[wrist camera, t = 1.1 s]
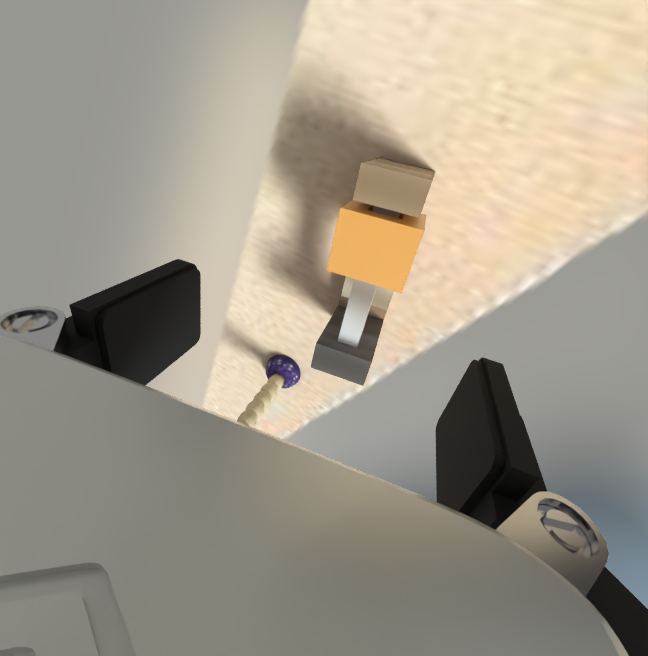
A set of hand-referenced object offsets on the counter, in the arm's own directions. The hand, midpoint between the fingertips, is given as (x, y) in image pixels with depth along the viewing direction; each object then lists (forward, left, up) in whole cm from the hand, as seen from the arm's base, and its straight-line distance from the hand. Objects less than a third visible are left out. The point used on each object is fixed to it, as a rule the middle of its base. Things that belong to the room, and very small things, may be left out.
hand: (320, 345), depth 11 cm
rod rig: (+3, 0, -20) cm, 20 cm away
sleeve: (0, 0, -16) cm, 16 cm away
